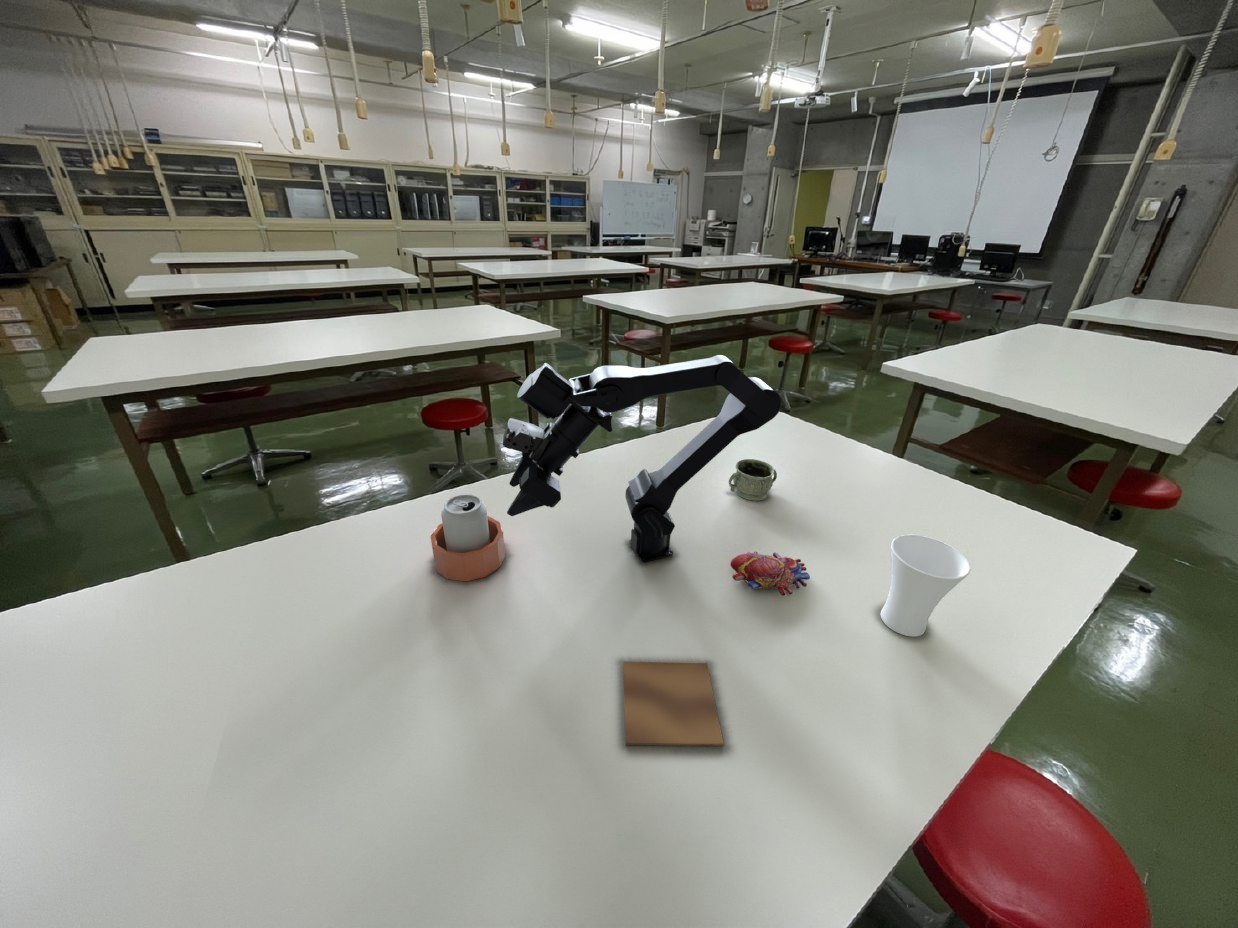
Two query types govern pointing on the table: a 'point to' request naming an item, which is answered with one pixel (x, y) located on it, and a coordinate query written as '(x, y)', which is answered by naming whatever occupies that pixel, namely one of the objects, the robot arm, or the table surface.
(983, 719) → the table surface
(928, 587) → the cup
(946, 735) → the table surface
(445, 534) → the can
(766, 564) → the anatomical model
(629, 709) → the wooden coaster
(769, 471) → the vessel
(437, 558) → the pot
